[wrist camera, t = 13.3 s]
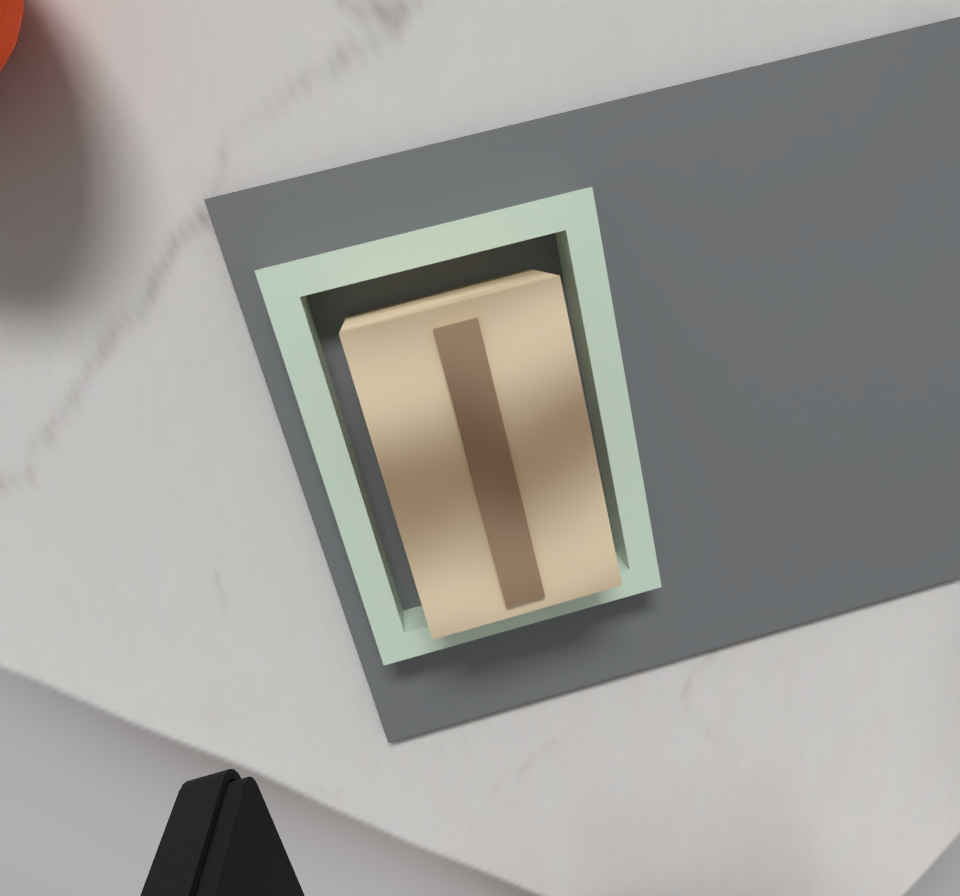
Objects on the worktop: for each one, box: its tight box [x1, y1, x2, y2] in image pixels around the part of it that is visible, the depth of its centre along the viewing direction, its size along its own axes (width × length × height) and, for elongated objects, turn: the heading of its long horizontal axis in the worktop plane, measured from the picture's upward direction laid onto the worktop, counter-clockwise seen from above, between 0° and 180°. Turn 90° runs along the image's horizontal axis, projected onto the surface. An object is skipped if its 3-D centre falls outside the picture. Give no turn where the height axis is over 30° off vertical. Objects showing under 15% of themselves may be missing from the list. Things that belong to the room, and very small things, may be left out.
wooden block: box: [339, 269, 622, 640], centre depth 22 cm, size 10×6×4 cm, turn 14°
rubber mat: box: [204, 17, 960, 743], centre depth 25 cm, size 24×20×1 cm
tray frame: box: [255, 187, 662, 665], centre depth 23 cm, size 10×14×2 cm
